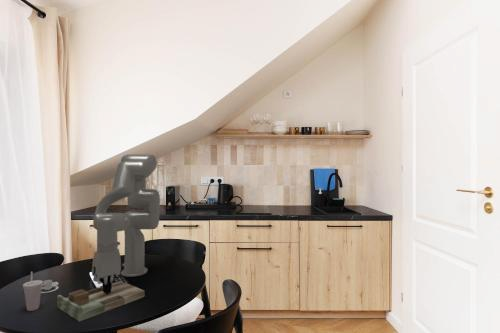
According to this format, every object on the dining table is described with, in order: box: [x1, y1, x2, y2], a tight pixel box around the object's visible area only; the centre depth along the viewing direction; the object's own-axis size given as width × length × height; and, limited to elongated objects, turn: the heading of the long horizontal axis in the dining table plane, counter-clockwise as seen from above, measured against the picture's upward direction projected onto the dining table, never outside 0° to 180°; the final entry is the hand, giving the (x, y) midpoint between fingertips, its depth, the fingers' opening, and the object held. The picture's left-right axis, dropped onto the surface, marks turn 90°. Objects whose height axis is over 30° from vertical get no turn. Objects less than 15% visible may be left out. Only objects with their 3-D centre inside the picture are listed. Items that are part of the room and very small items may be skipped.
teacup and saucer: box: [41, 279, 60, 294], centre depth 135 cm, size 9×8×4 cm
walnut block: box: [68, 289, 89, 306], centre depth 116 cm, size 5×5×4 cm
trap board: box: [56, 280, 146, 323], centre depth 123 cm, size 18×26×4 cm
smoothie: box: [22, 271, 44, 312], centre depth 117 cm, size 6×6×14 cm
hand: (107, 292), depth 125 cm, fingers closed
